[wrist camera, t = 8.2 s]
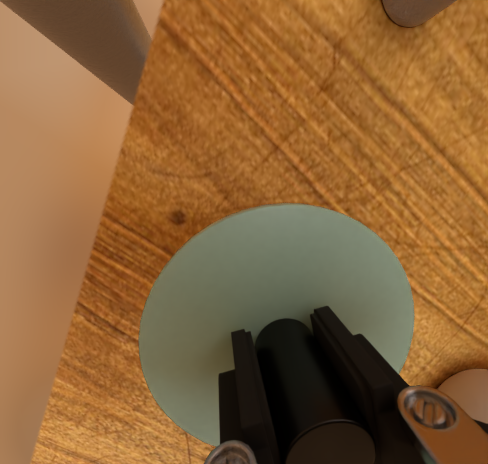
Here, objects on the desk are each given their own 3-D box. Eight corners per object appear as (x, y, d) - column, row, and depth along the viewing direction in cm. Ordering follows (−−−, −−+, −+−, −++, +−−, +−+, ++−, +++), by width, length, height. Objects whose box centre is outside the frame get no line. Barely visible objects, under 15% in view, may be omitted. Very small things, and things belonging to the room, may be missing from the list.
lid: (92, 365, 11) (-18, 544, 6) (253, 140, 10) (300, 106, 5) (295, 463, 14) (347, 652, 8) (445, 295, 13) (621, 390, 7)
